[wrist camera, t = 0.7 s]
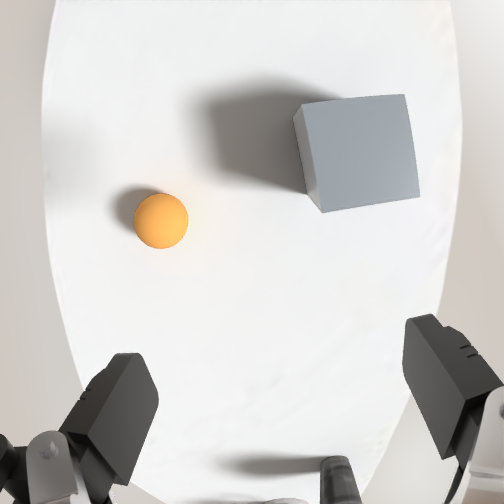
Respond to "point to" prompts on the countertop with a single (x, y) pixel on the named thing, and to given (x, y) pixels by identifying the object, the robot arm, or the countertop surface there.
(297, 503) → the french press
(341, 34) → the countertop surface
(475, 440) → the robot arm
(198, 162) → the countertop surface
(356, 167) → the grey square block
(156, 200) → the ball
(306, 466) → the countertop surface
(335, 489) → the beverage cup
